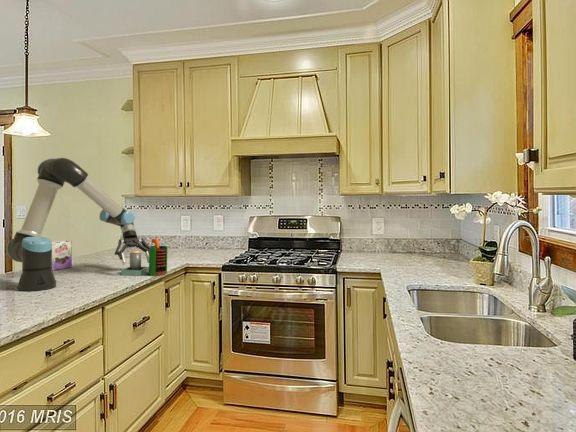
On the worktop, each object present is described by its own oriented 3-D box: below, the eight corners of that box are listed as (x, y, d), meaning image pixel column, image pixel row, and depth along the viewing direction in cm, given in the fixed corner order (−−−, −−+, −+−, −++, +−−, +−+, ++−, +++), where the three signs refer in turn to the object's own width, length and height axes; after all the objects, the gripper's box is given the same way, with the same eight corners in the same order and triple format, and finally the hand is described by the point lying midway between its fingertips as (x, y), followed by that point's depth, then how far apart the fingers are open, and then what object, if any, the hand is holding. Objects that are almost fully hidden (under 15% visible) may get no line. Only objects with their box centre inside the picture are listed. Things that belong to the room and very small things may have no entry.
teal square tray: (142, 276, 211) (142, 270, 211) (121, 275, 211) (121, 269, 211) (150, 272, 222) (150, 266, 222) (130, 271, 222) (130, 266, 222)
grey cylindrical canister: (138, 273, 213) (138, 252, 213) (127, 273, 214) (127, 251, 213) (142, 271, 219) (143, 250, 219) (132, 271, 220) (132, 250, 219)
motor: (159, 276, 210) (160, 240, 209) (145, 275, 212) (145, 239, 211) (169, 273, 220) (169, 238, 219) (155, 272, 222) (155, 238, 221)
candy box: (51, 271, 219) (50, 242, 218) (43, 270, 221) (43, 242, 220) (72, 267, 232) (72, 240, 231) (65, 266, 234) (64, 239, 233)
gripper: (149, 236, 236) (157, 264, 224) (105, 238, 220) (111, 268, 209) (152, 228, 231) (160, 256, 220) (107, 230, 216) (114, 260, 205)
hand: (136, 262), depth 215 cm, fingers open, 13 cm apart
